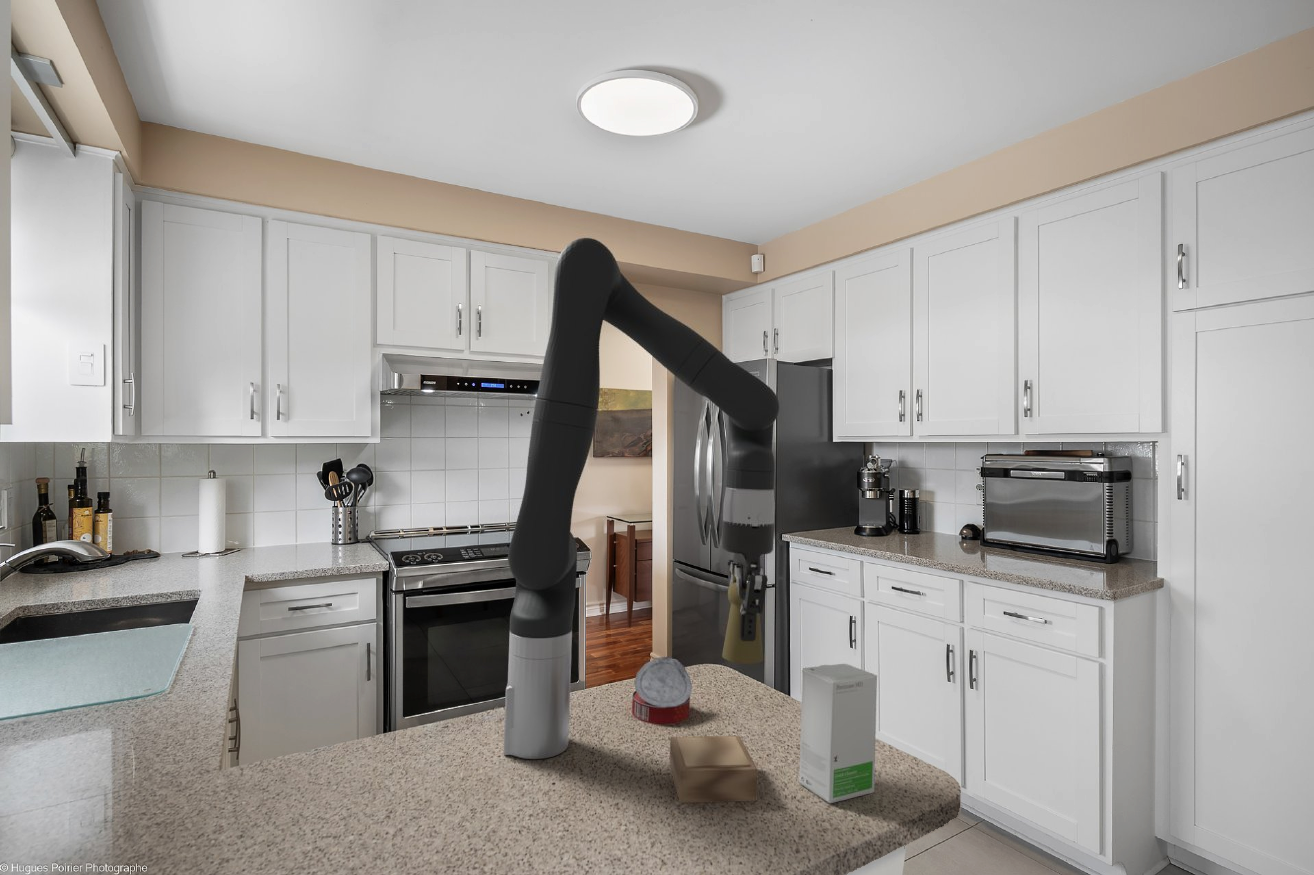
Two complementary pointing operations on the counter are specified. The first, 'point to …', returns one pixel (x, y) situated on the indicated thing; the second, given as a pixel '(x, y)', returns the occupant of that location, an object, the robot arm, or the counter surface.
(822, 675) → the skincare box
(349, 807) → the counter surface
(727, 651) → the olive knobbed peg
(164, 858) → the counter surface
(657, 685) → the canned food
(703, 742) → the base
